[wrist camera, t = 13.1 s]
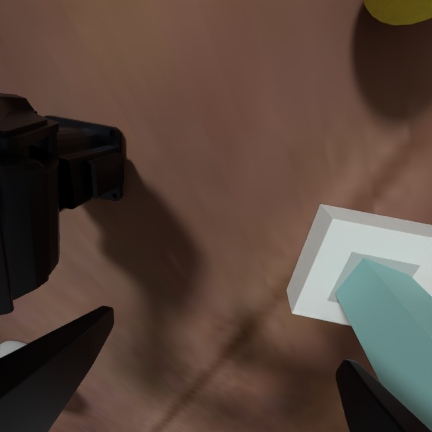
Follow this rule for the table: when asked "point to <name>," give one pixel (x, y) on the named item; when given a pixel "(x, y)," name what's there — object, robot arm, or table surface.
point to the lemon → (400, 11)
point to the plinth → (354, 257)
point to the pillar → (393, 331)
